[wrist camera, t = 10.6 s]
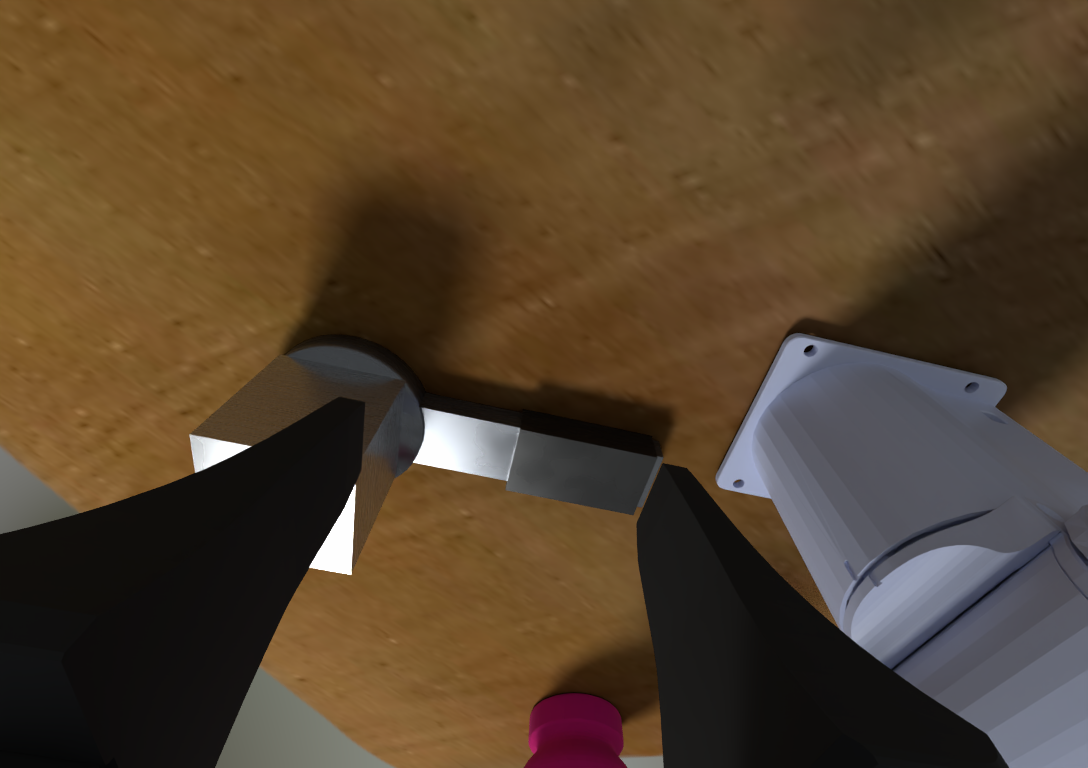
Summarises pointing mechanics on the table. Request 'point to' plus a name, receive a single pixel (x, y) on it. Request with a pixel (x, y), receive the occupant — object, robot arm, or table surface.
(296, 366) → the metal cube
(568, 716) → the pepper mill
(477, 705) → the table surface
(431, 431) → the ratchet
